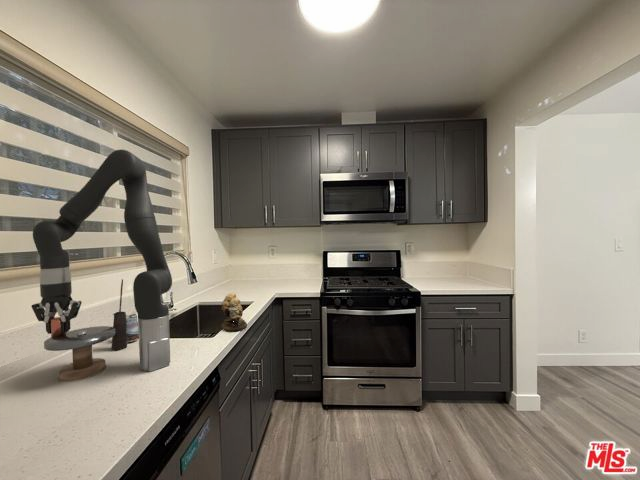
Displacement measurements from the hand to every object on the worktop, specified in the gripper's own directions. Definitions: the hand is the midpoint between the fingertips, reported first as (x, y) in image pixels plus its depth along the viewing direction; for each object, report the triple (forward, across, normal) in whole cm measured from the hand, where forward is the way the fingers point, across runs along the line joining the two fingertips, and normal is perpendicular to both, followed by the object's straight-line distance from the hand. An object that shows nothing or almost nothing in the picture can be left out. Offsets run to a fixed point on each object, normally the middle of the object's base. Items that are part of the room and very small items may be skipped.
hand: (58, 332), depth 92 cm
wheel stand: (+14, -8, +1) cm, 16 cm away
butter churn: (+14, -8, -18) cm, 24 cm away
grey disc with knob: (+3, -7, +1) cm, 8 cm away
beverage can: (+14, -8, -26) cm, 31 cm away
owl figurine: (+14, -50, -37) cm, 64 cm away
